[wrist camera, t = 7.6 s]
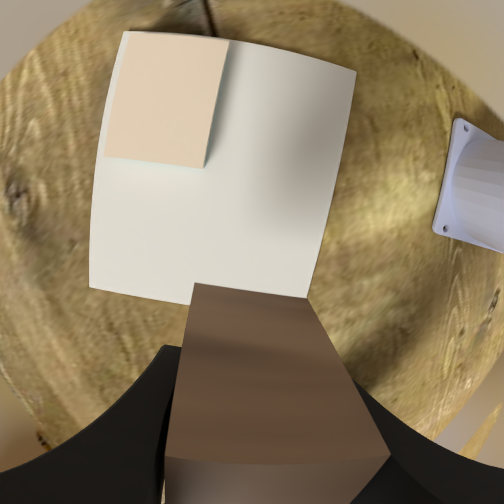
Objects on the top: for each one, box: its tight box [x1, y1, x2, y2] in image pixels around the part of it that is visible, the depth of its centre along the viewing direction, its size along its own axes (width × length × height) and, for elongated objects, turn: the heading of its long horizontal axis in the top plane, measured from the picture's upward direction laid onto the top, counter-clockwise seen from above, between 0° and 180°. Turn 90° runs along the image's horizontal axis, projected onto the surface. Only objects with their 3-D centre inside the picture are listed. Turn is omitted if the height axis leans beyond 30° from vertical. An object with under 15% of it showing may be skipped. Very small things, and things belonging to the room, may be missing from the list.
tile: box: [104, 33, 229, 169], centre depth 14 cm, size 5×2×6 cm
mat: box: [89, 31, 357, 305], centre depth 16 cm, size 13×15×1 cm
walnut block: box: [165, 282, 391, 504], centre depth 8 cm, size 4×4×7 cm
